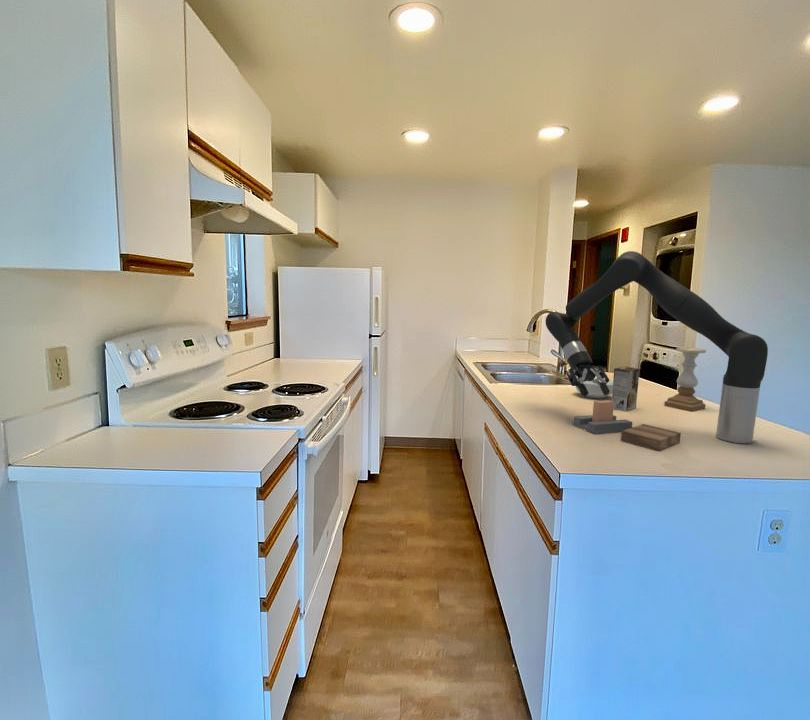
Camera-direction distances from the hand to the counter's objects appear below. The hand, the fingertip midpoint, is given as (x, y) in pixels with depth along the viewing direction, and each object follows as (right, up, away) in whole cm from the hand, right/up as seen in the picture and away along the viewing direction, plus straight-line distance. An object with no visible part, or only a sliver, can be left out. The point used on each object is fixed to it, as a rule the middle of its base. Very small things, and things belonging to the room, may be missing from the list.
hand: (596, 394), depth 149 cm
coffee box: (+22, -8, +27) cm, 35 cm away
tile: (+1, -10, -2) cm, 10 cm away
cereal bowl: (+19, -5, +47) cm, 51 cm away
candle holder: (+49, -8, +31) cm, 58 cm away
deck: (+10, -13, -15) cm, 22 cm away
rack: (+1, -11, -2) cm, 11 cm away
